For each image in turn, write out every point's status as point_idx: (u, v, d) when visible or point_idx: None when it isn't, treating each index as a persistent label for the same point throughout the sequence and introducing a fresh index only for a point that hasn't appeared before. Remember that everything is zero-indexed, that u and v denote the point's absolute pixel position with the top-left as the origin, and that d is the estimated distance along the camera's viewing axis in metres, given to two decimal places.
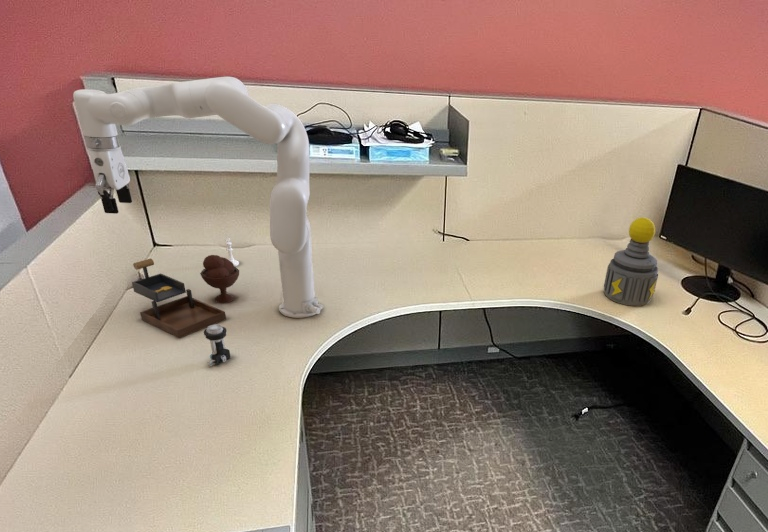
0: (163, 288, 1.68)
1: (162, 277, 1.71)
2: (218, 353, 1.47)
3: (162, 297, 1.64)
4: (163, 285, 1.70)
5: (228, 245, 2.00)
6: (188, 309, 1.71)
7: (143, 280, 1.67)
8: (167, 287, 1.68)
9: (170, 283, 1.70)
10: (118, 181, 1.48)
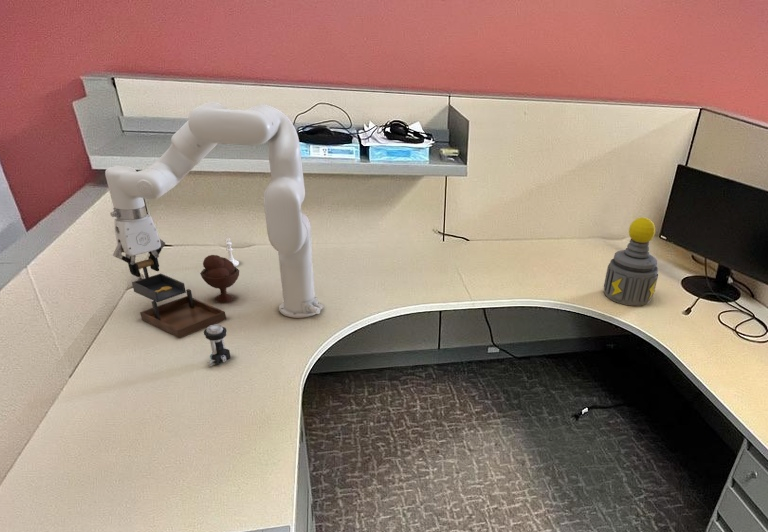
0: (163, 288, 1.68)
1: (162, 277, 1.71)
2: (218, 353, 1.47)
3: (162, 297, 1.64)
4: (163, 285, 1.70)
5: (228, 245, 2.00)
6: (188, 309, 1.71)
7: (143, 280, 1.67)
8: (167, 287, 1.68)
9: (170, 283, 1.70)
10: (132, 248, 1.59)
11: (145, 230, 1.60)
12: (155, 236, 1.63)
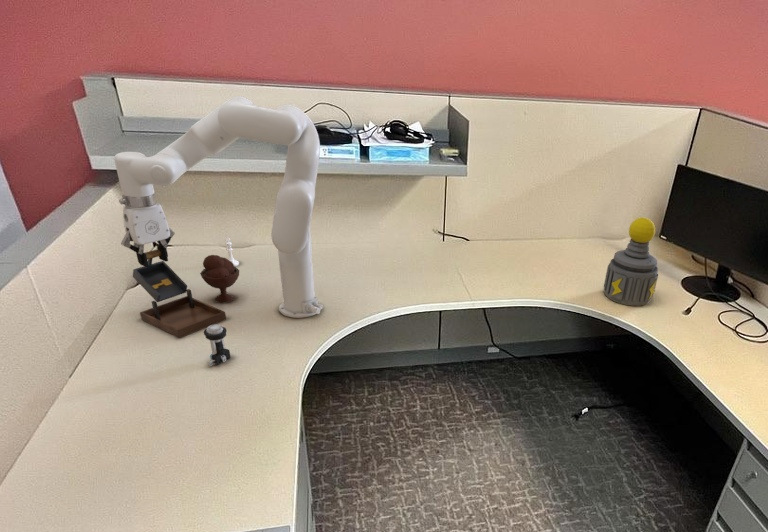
0: (164, 282, 1.66)
1: (164, 266, 1.68)
2: (218, 353, 1.47)
3: (163, 297, 1.63)
4: (163, 275, 1.68)
5: (228, 245, 2.00)
6: (188, 309, 1.71)
7: (145, 268, 1.64)
8: (168, 281, 1.67)
9: (171, 276, 1.68)
10: (141, 237, 1.54)
11: (154, 218, 1.55)
12: (164, 225, 1.59)
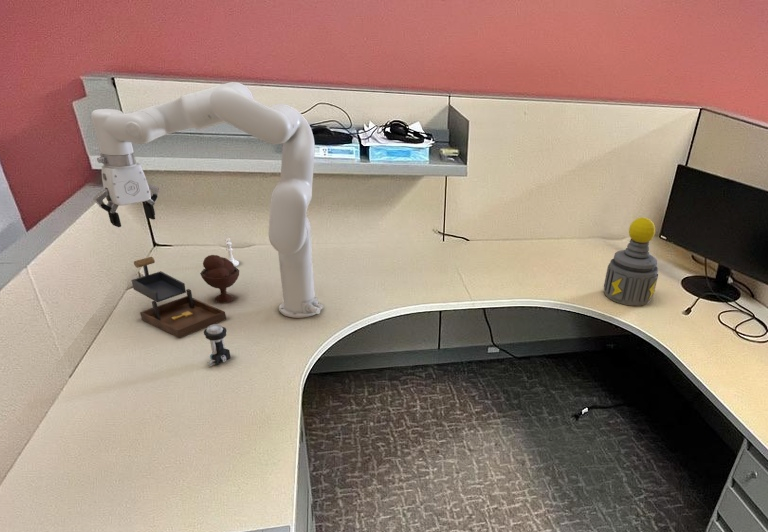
0: None
1: (162, 275, 1.70)
2: (218, 353, 1.47)
3: (162, 297, 1.63)
4: (163, 283, 1.70)
5: (228, 245, 2.00)
6: (188, 309, 1.71)
7: (143, 278, 1.66)
8: None
9: (170, 282, 1.70)
10: (121, 197, 1.51)
11: (134, 179, 1.52)
12: (145, 186, 1.56)
